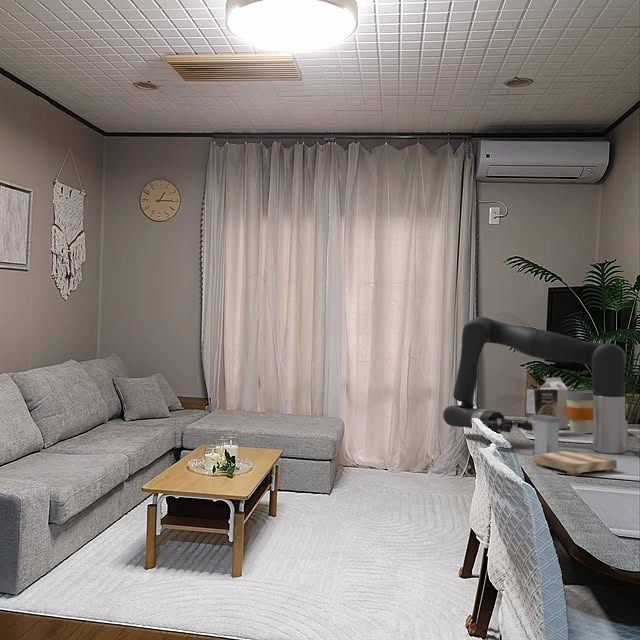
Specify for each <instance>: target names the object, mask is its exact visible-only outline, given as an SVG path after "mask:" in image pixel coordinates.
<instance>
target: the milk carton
mask: <svg viewBox="0 0 640 640" xmlns="http://www.w3.org/2000/svg"><path fill="white" fill-rule="evenodd" d="M539 389H556V390H558V402H557V417H559V418H561V422H559V430H563V429H568V423H569V421H568V420H569V418H568V415H567V407H566V406H567V398H566V390H569V389H568V387H567V386H566V384H565V383H564V382H563V381H562V377H547V378H546V381H545V382H544V383H543V384H542V385H541V386H540V387H539Z"/></svg>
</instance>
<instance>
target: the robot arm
mask: <svg viewBox="0 0 640 640" xmlns="http://www.w3.org/2000/svg"><path fill="white" fill-rule="evenodd" d="M461 333H462V335H461V352H460V360H459V366H458V370H457V371H458V372H457V374H456V375H457V376H456V380H455V384H454V388H453V393H452V396H453V398H454V400H455V401H458V402H460V403H461V404H459V405H449V406H447V407H446V408H445V409H444V410H443V413H442V417H443V420H444V422H445V423H446V424H447V425H448V426H451V427H459V428H469V429H471V428H472V418H478V419H480V420H481V421H482V422H483V424H484V425H485V426H487V427H488V428H490V429H491V430H492V431H494V432H496V433H498V434H497V435H501V434H502V432H504V433H507V434H508V433H511V432H512V431H515V432H516V431H518V430H522V431H526V430H528V431H532V430H533V425H532V424H530V423H528V421H526V420H524V419H518V418H509V417H505V416H504V414H502V412H500V411H495V410H490V409H485V408H483V409H480V408H475V407H474V395H475V392H476V387H477V383H478V373H479V372H478V369H479V367H478V365H479V360H480V355H481V353H482V351H483V347H484V346H485V344H496V345H502V346H507V347H510V348H512V349H513V350H516V351H518V352H519V353H521V354H524V355H526V356H529V357H533V358H538V359H542V360H547V361H555V362H564V363H565V362H566V363H567V362H568V363H577V364H582V365H586V366H589V367H591V384H592V385H591V386H592V390H593V434H592V450H593V451H594V450H595V452H597V451H598V452H599V453H603V454H604V453H605V454H624V453H626V452H628V449H629V448H628V440H629V439H628V424H629V423H628V420H626V384H625V365H626V363H627V354H626V352H625V350H624V349H623V348H622V347H621V346H619V345H617V344H615V343H603V342H594V341H586V340H580V339H576V338H575V337H571V336H568V335H564V334H562V333H557V332H553V331H548V330H545V329H539V328H532V327H526V326H520V325H514V324H509V323H504V322H501V321H497V320H494V319H491V318H488V317H484V316H478V317H474V318H473V319H471V320H468V321H467V322H466V324H464V326H463V329H462V332H461ZM598 452H597V453H598Z"/></svg>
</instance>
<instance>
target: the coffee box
mask: <svg viewBox="0 0 640 640" xmlns="http://www.w3.org/2000/svg"><path fill="white" fill-rule="evenodd" d="M557 402H558V390H556V389H540V388H526V413H525V414H526V417H525V418H526V420H525V421H528V423H530V424H532V425H533V430H532V431H528V430H525V431H526V432H527V433H526V434H530V433H531V435H533V434H534V436H535V420H532V416H536V415H547V416H553V417H557Z"/></svg>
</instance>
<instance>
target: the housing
mask: <svg viewBox="0 0 640 640" xmlns="http://www.w3.org/2000/svg"><path fill="white" fill-rule="evenodd" d="M532 420H535V435H534V451H531V452H532V453H531V454H532V457H534V454H544V453H555V452H560V451H559V442H560V441H559V438H560V437H559V435H560V434H559V431H560V429H559V422H561V418H559V417H553V416H547V415H536V416H532Z"/></svg>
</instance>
